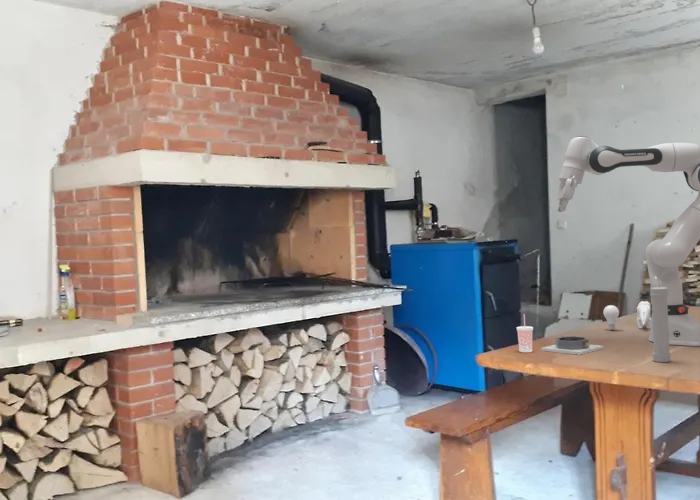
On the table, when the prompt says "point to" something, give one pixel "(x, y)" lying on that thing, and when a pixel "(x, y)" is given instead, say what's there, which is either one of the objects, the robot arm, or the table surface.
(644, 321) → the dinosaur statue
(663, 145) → the robot arm
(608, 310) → the lightbulb
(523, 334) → the beverage cup
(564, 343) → the collar
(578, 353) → the base plate
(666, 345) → the pipe
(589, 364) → the table surface
